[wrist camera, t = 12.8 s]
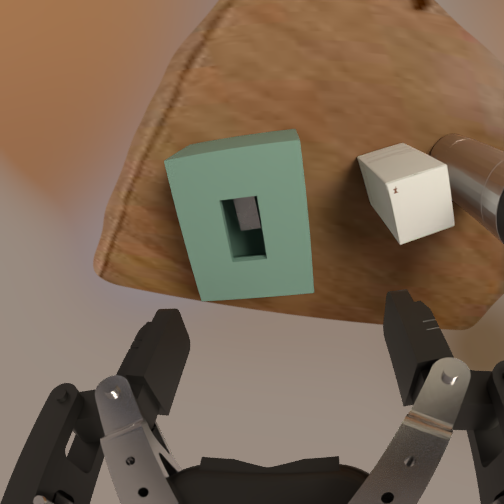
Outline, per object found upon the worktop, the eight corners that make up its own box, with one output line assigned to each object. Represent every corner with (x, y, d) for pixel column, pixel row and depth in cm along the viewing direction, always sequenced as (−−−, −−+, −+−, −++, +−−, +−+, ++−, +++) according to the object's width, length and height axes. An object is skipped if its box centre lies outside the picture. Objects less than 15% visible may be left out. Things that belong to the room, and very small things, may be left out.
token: (255, 177, 40) (252, 188, 36) (263, 212, 43) (260, 227, 38) (237, 181, 41) (231, 192, 36) (245, 215, 43) (240, 230, 39)
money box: (295, 128, 38) (299, 139, 29) (308, 252, 46) (314, 292, 37) (189, 144, 40) (164, 160, 31) (216, 261, 48) (201, 301, 39)
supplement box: (369, 205, 42) (397, 247, 31) (355, 155, 39) (384, 181, 27) (415, 190, 40) (456, 227, 29) (404, 141, 37) (447, 162, 26)
